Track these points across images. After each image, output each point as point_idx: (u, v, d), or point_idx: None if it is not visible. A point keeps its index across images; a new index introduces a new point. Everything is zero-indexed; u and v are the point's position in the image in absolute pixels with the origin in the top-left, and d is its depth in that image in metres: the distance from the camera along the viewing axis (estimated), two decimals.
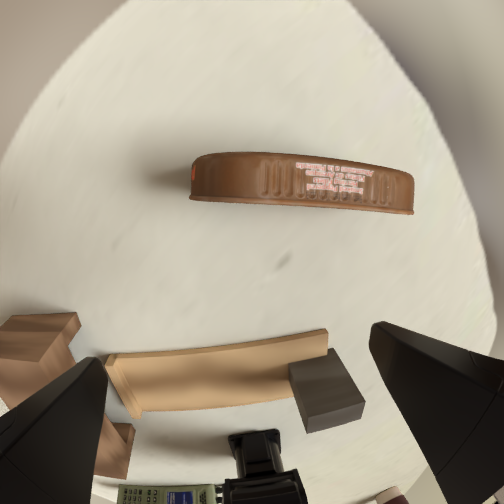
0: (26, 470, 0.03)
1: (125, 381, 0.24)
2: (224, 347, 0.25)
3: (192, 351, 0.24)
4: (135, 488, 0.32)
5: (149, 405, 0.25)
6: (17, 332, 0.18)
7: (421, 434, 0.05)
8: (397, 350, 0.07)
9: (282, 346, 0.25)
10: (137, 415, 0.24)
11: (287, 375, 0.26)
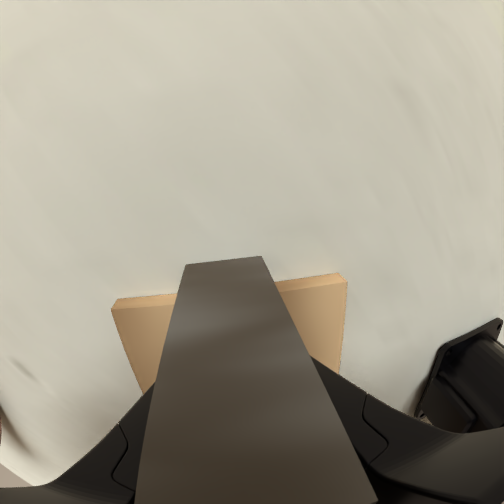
0: None
1: None
2: None
3: None
4: None
5: None
6: None
7: None
8: None
9: None
10: None
11: None
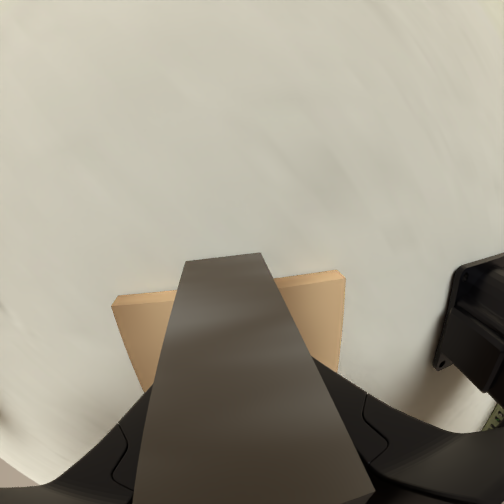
0: None
1: None
2: None
3: None
4: (487, 428, 0.20)
5: None
6: None
7: None
8: None
9: None
10: None
11: None
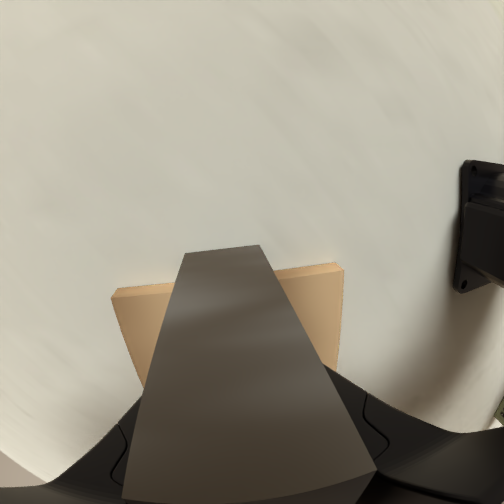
0: None
1: None
2: None
3: None
4: None
5: None
6: None
7: None
8: None
9: None
10: None
11: None
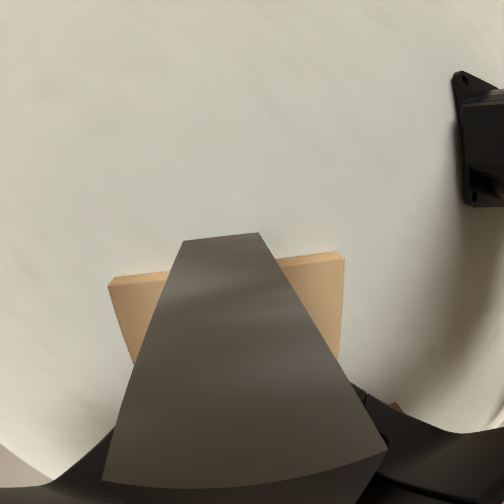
0: None
1: None
2: None
3: None
4: None
5: None
6: None
7: None
8: None
9: None
10: None
11: None
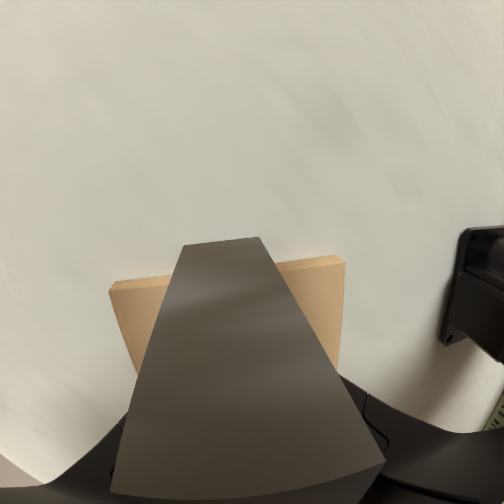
0: None
1: None
2: None
3: None
4: (491, 423, 0.20)
5: None
6: None
7: None
8: None
9: None
10: None
11: None
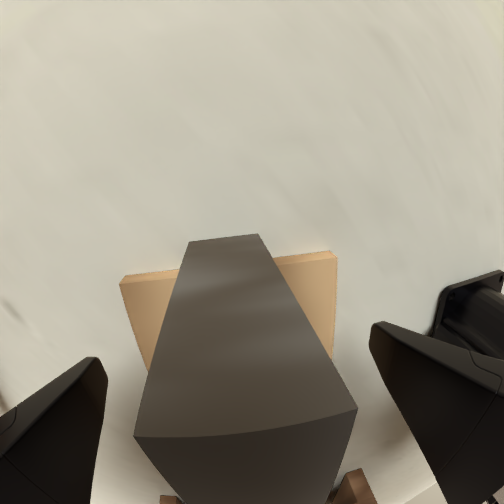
0: (26, 469, 0.03)
1: None
2: None
3: None
4: None
5: None
6: None
7: (421, 434, 0.05)
8: (397, 350, 0.07)
9: None
10: None
11: None
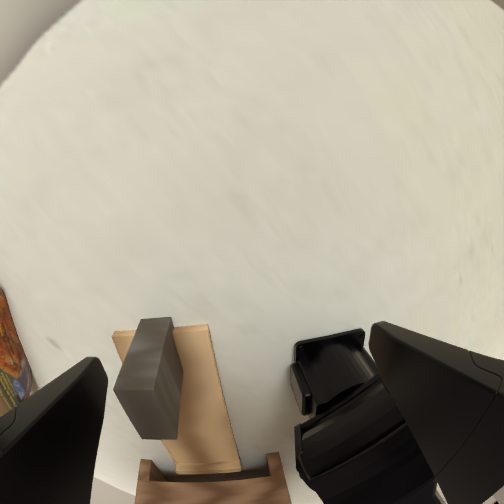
0: (25, 469, 0.03)
1: (198, 465, 0.26)
2: None
3: None
4: None
5: (229, 457, 0.26)
6: None
7: (421, 434, 0.05)
8: (397, 350, 0.07)
9: None
10: (235, 469, 0.25)
11: None
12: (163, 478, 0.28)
